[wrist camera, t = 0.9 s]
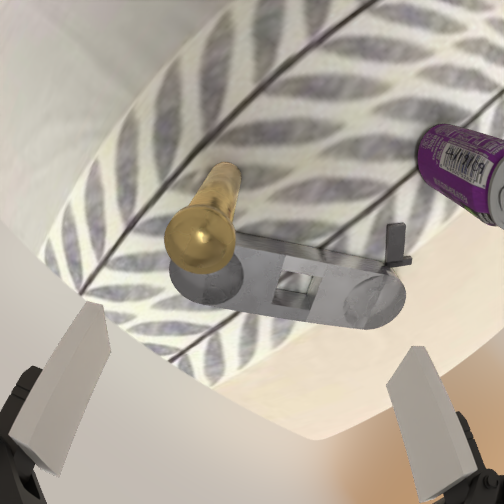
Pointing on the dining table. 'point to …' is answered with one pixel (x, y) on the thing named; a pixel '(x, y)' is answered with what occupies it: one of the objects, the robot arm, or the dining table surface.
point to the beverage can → (465, 169)
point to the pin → (206, 224)
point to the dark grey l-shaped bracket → (396, 246)
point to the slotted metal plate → (292, 303)
